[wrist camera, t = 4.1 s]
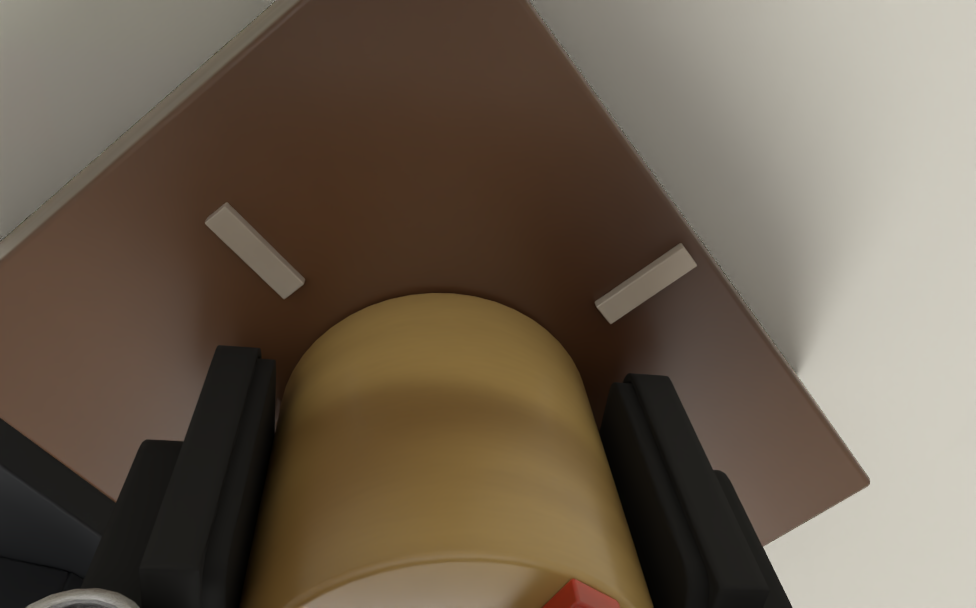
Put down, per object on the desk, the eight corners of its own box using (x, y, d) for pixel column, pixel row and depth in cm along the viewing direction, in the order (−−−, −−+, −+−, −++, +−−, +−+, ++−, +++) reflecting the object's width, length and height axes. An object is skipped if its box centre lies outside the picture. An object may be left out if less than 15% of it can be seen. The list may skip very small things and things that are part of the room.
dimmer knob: (466, 579, 14) (495, 925, 10) (221, 458, 13) (124, 804, 8) (649, 392, 13) (780, 700, 8) (397, 229, 11) (393, 502, 7)
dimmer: (-8, 248, 14) (-108, 353, 11) (431, -136, 12) (440, -121, 9) (429, 610, 19) (433, 747, 16) (800, 380, 17) (879, 492, 14)
